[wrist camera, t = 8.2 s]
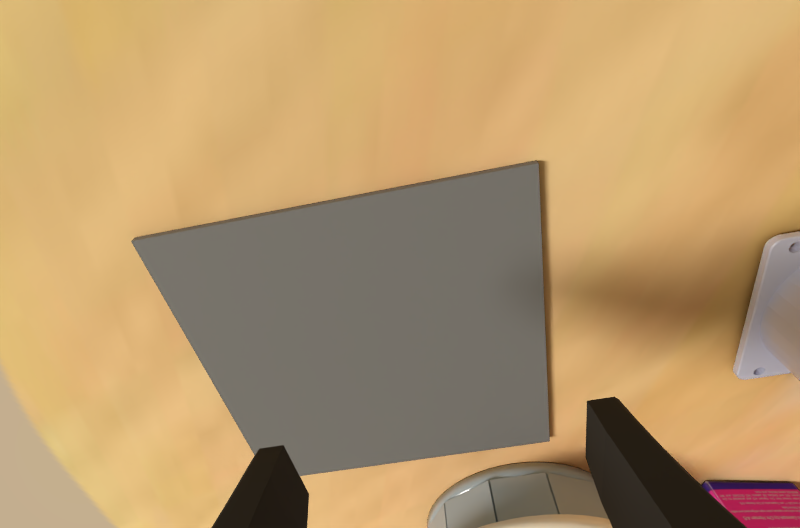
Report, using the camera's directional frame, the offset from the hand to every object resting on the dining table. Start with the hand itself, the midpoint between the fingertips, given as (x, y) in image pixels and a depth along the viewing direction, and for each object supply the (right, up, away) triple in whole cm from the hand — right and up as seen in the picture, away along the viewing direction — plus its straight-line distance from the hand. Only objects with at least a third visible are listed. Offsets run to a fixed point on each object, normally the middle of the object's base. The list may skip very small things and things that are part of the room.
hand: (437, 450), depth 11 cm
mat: (-2, 0, +11) cm, 11 cm away
